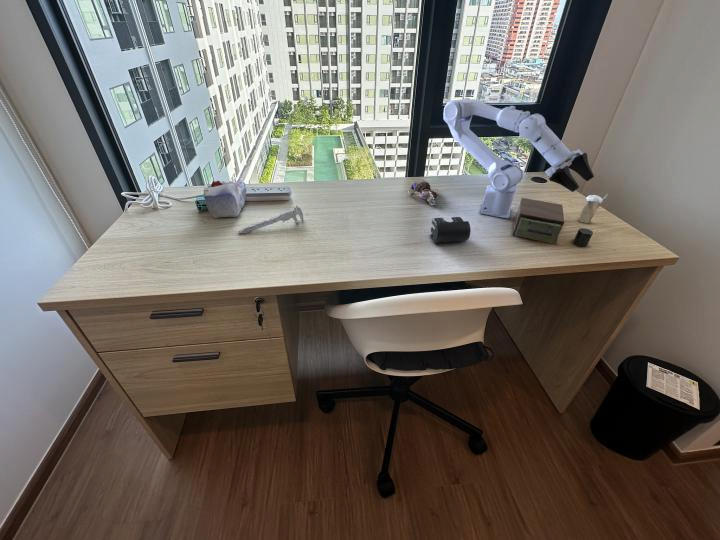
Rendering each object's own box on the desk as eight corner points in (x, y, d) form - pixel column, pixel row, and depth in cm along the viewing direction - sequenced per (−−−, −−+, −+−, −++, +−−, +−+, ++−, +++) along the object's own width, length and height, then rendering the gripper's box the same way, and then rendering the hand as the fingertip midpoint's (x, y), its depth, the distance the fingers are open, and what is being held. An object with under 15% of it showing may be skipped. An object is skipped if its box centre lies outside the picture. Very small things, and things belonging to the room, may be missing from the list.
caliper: (302, 221, 110) (301, 203, 106) (303, 222, 109) (302, 205, 105) (239, 232, 103) (234, 214, 99) (239, 234, 102) (235, 216, 98)
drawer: (554, 251, 95) (561, 234, 92) (514, 242, 98) (520, 225, 95) (553, 226, 107) (559, 210, 103) (517, 219, 110) (522, 203, 107)
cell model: (198, 191, 101) (204, 170, 117) (207, 223, 107) (211, 199, 123) (242, 187, 104) (242, 167, 120) (249, 218, 110) (248, 195, 126)
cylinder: (573, 245, 99) (579, 232, 97) (572, 239, 102) (578, 226, 100) (587, 248, 98) (594, 235, 96) (586, 242, 101) (592, 229, 98)
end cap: (435, 248, 97) (438, 227, 93) (428, 235, 103) (431, 216, 99) (467, 246, 98) (472, 226, 94) (459, 234, 104) (463, 214, 100)
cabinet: (554, 244, 100) (564, 221, 95) (512, 235, 104) (519, 213, 99) (553, 225, 109) (562, 204, 105) (515, 218, 113) (521, 197, 109)
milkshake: (596, 225, 110) (610, 197, 104) (579, 223, 111) (591, 195, 105) (591, 218, 114) (604, 191, 108) (574, 217, 114) (587, 190, 108)
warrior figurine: (402, 189, 132) (417, 209, 118) (403, 177, 129) (419, 196, 115) (430, 187, 134) (448, 207, 120) (432, 175, 131) (451, 194, 117)
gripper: (547, 148, 90) (580, 186, 88) (576, 130, 95) (609, 165, 93) (529, 164, 97) (560, 200, 94) (558, 146, 102) (588, 180, 99)
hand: (583, 184), depth 94 cm, fingers open, 7 cm apart
